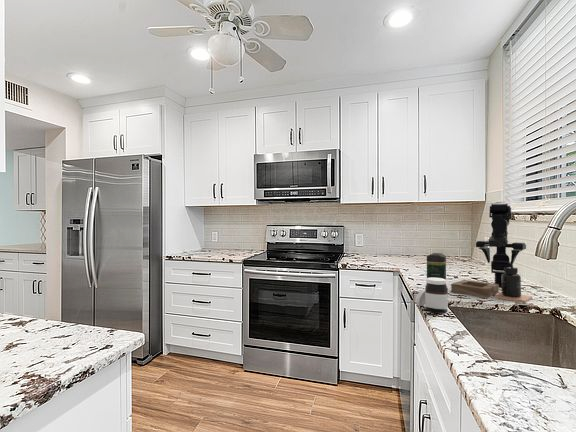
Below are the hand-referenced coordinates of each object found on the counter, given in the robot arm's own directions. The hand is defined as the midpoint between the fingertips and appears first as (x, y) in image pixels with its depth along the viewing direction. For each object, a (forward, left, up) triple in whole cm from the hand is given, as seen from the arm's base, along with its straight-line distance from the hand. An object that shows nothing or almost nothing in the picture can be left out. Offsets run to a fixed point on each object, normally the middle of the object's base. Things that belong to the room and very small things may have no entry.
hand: (500, 263), depth 147 cm
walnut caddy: (+8, -8, -13) cm, 17 cm away
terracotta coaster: (+8, +7, -13) cm, 17 cm away
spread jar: (+49, -9, -13) cm, 52 cm away
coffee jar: (+25, -18, -13) cm, 34 cm away
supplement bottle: (+8, +6, -12) cm, 16 cm away
